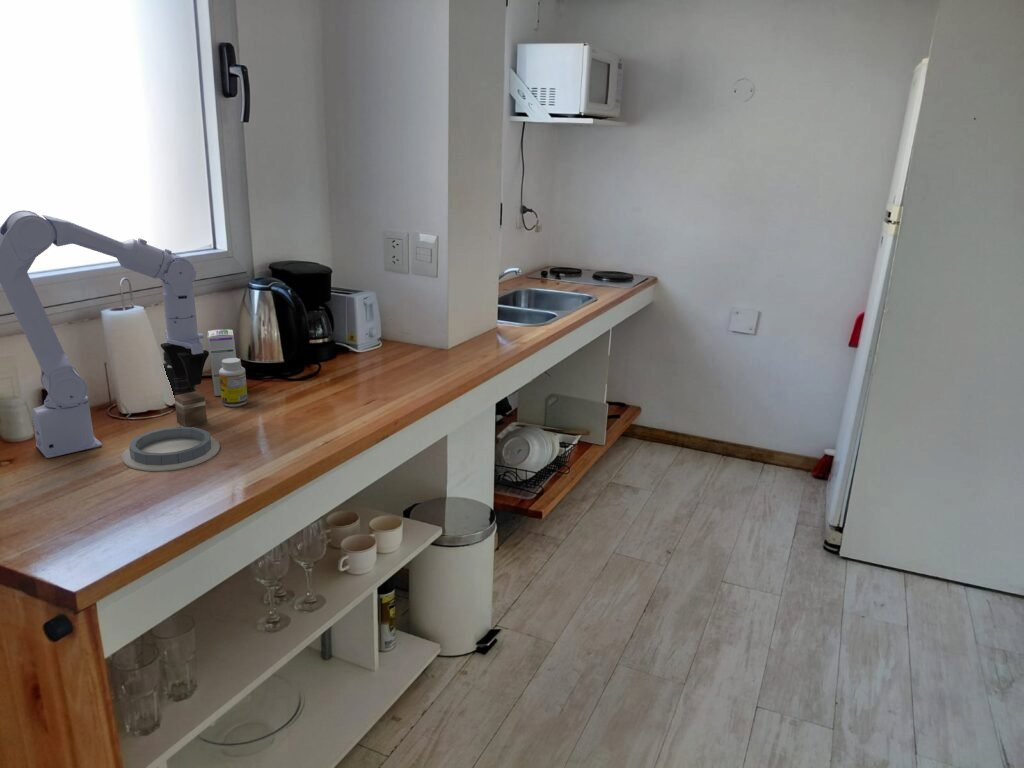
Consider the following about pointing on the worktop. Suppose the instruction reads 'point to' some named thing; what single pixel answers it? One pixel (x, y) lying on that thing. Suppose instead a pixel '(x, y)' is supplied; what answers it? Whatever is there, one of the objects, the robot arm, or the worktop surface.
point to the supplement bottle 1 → (177, 380)
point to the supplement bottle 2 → (233, 383)
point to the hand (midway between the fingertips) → (187, 380)
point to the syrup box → (220, 353)
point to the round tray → (170, 449)
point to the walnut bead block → (190, 409)
